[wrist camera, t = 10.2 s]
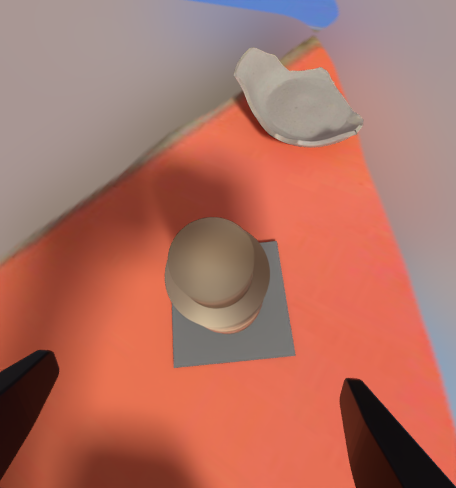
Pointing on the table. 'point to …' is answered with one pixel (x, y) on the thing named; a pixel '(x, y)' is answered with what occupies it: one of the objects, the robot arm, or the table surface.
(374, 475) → the robot arm
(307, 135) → the pottery shard
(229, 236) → the skittle
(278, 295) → the mat
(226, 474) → the table surface
